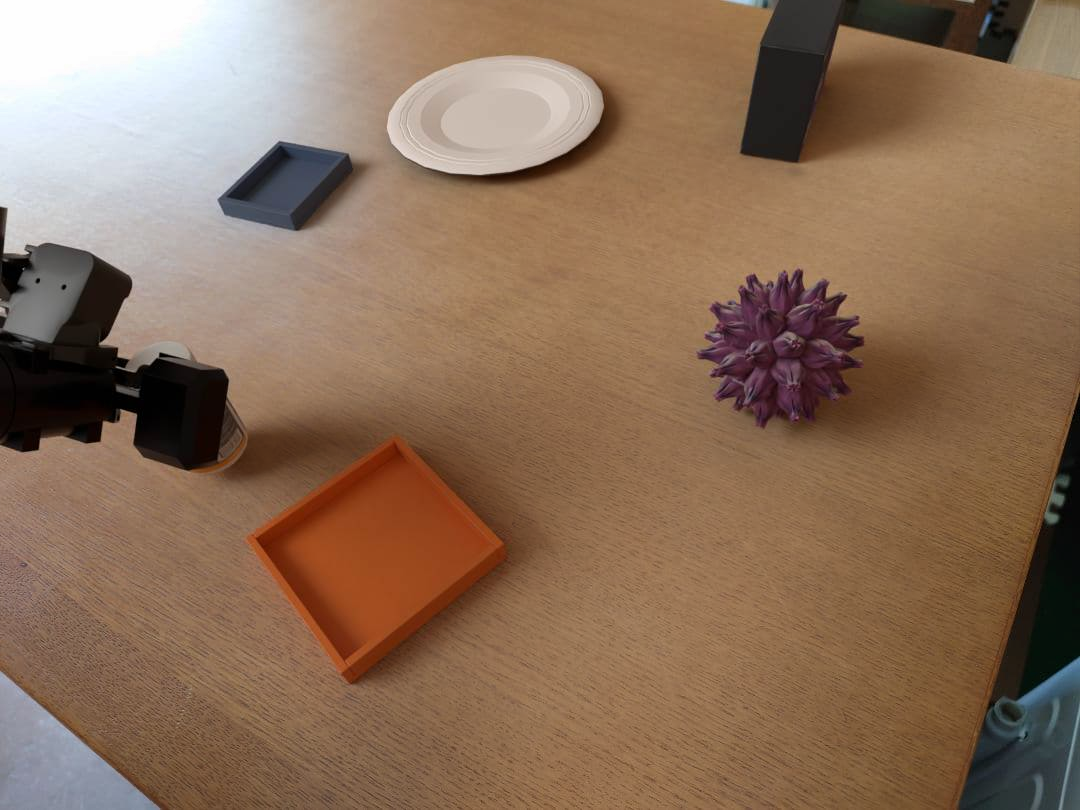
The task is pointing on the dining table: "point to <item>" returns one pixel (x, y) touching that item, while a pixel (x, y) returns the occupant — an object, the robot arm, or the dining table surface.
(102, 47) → the dining table surface
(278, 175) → the blue tray
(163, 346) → the pill bottle
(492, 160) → the plate
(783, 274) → the flower
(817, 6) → the box
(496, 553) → the orange tray
